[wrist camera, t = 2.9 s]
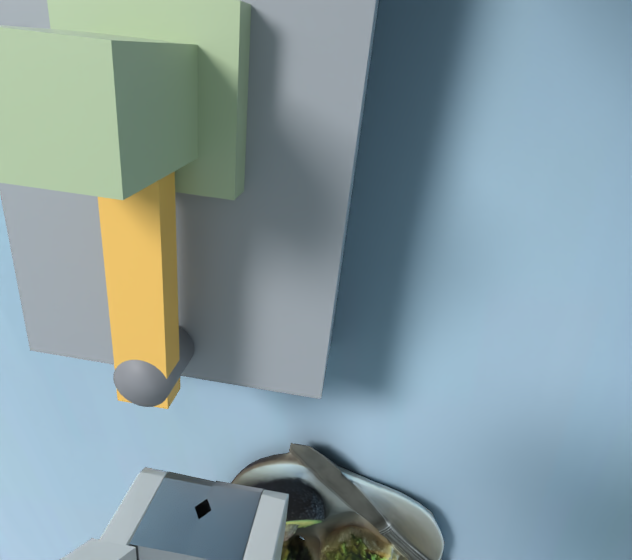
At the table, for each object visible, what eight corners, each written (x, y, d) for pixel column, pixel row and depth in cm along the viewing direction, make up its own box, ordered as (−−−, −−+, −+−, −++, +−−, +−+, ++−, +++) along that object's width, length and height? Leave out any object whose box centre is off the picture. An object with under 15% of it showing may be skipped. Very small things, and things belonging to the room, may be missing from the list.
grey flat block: (18, -193, 20) (-88, -265, 15) (401, -161, 19) (407, -227, 14) (82, 306, 30) (30, 350, 26) (330, 346, 29) (320, 399, 25)
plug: (112, -7, 21) (-118, -57, 11) (269, 11, 20) (168, -26, 11) (124, 155, 24) (-50, 223, 14) (260, 174, 23) (176, 257, 14)
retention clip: (133, 148, 20) (91, 164, 17) (192, 157, 20) (160, 174, 17) (146, 361, 25) (115, 401, 22) (194, 369, 25) (169, 411, 22)
